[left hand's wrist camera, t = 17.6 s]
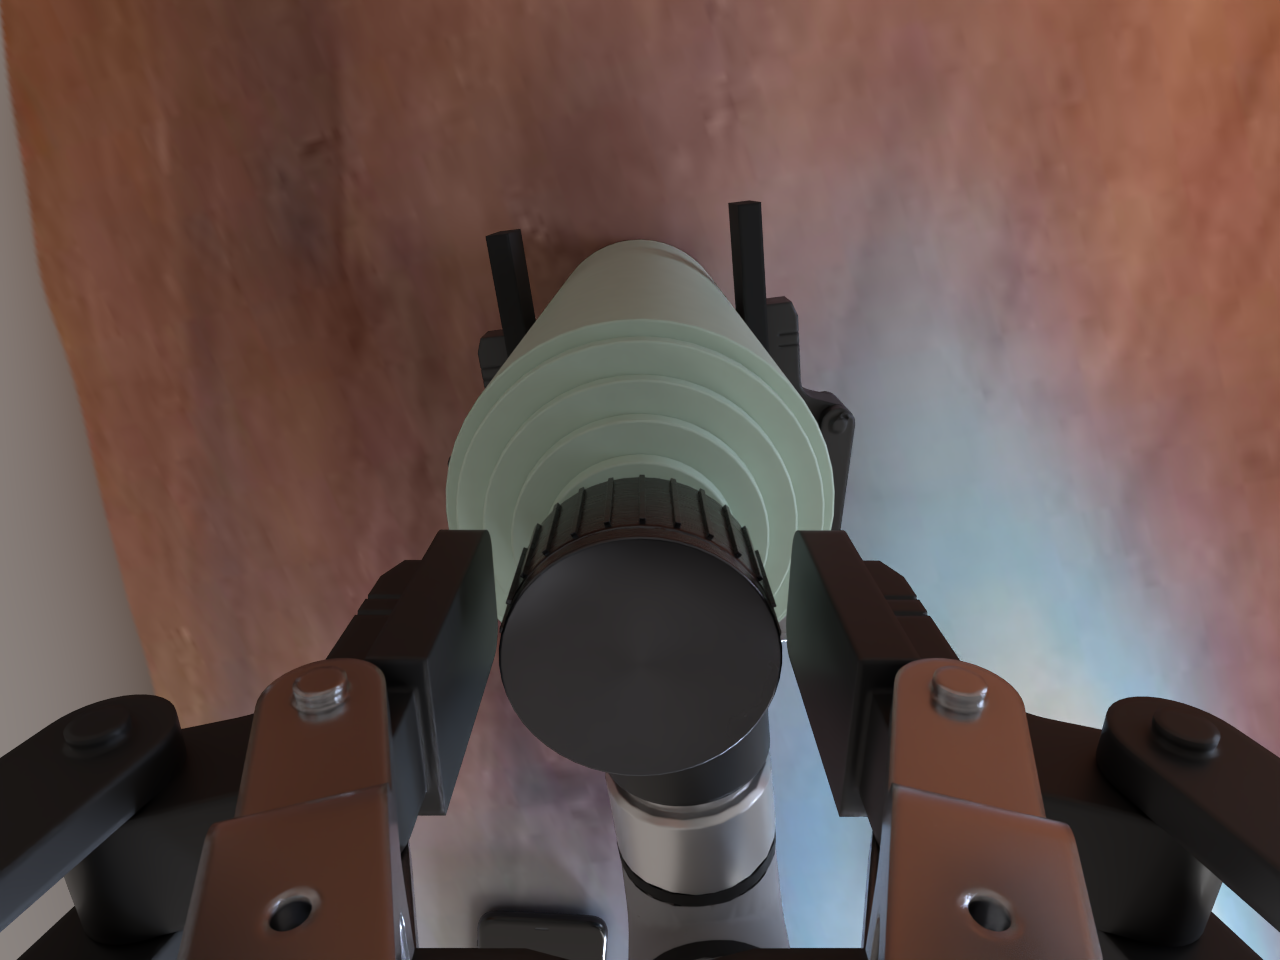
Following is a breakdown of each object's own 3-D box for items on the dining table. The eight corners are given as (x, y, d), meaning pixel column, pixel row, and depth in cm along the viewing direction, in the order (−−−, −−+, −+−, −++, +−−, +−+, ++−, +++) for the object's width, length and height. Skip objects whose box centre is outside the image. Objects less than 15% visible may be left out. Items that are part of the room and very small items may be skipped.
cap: (498, 659, 13) (471, 749, 11) (546, 444, 11) (526, 500, 9) (720, 707, 13) (736, 804, 11) (795, 504, 12) (828, 572, 10)
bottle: (607, 204, 31) (525, 260, 9) (758, 298, 33) (1028, 559, 10) (524, 358, 34) (286, 721, 11) (668, 440, 35) (720, 910, 12)
